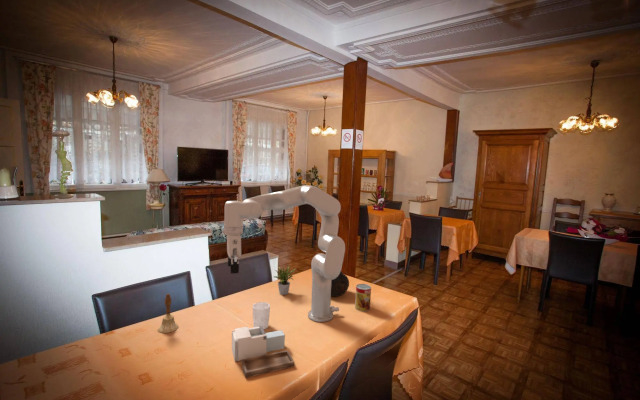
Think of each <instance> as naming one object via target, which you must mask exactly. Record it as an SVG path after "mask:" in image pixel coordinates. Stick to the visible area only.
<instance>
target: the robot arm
mask: <svg viewBox="0 0 640 400" xmlns="http://www.w3.org/2000/svg"><path fill="white" fill-rule="evenodd" d="M302 205H310V206H312V207H313V208H315V210H316V211H317V213H318V214H319V216H320V219H321V225H320V231H319V235H318V238H317V239H318V241H317V246H318V248H319V250H321V251H322V252H323V253H317V254H315V255H314V256H313V257H312V259H311V261H310V262H311V263H310V264H311V265H310V266H311V278H312V279H311V280H312V281H311V283H312V284H311V309H310V310H309V311H308V313H307V317H308V318H309V319H310V320H311V321H313V322H317V323H319V322H320V323H324V322H329V321H331V320H333V318H334V312H340V308H339V306H337V307H336V306H335V305H331V301H332V299H331V298H332V296H331V280H333V279H335V278H337V277H338V275H339V274H340V272H342V266H343V263H344V258H345V253H346V244H345V241H344V240H343V239H342V237H340V236H338V233H339V226H340V224H339V223H340V220H339V214H340V212H341V209H342V207H341V203H340V201H339V200H338V199H337V198H336V197H334V196H332V195H331V194H328V193H327V192H325V191H324V190H322V189H320V188H319V187H317V186H315V185H311V184H310V185H308V184H304V185H300V186H296V187H291V188H288V189H285V190H280V191H275V192H271V193H265V194H260V195H256V196H253V197H248V198H246V199H244V200H242V201H241V200H227V201H226V202H225V204H224V217H223V218H224V223H223V224H224V226H223V227H224V228H223V229H224V235H226V252H227V253H226V254H227V256H228V257H227V267H230V274H238V273H239V271H240V269H239V268H240V267H239V266H240V262H239V259H241V258H242V238H241V237H242V236H241V235H243V232H244V231H243V230H244V227H243V226H244V219H250V220H255V219H258V218H260V217H261V216H262V215H263V212H265V211H273V210H274V211H283V210H284V211H285V210H288V209H292V208H296V207H299V206H302Z"/></svg>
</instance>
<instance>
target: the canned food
mask: <svg viewBox="0 0 640 400" xmlns="http://www.w3.org/2000/svg"><path fill="white" fill-rule="evenodd" d="M371 296H372V286H371V285H369V284H366V283H358V284H356V287H355V304H354V305H355V306H354V307H355V309H356V310H357V311H360V312H369V311H370V310H371V298H372V297H371Z"/></svg>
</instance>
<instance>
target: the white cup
mask: <svg viewBox="0 0 640 400" xmlns="http://www.w3.org/2000/svg"><path fill="white" fill-rule="evenodd" d="M270 309H271V305H270V303H269V302H266V301H260V302H255V303H253V304H252V321H253V327H259V326H262V327H263V329H264V330H267V329H268V328H269V321H270V312H271V311H270Z"/></svg>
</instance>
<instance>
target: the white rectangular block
mask: <svg viewBox="0 0 640 400" xmlns="http://www.w3.org/2000/svg"><path fill="white" fill-rule="evenodd" d="M265 333H266V335H267V342H266V353H269V352H274V351H279V350H284V349H285V342H286V341H285V340H286V339H285V338H286V334H285V332H284V331H283V329H282V330H281V329H280V330H274V331H271V332H265ZM258 335H261V334H257V335H251V337H253V336H258Z"/></svg>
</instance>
